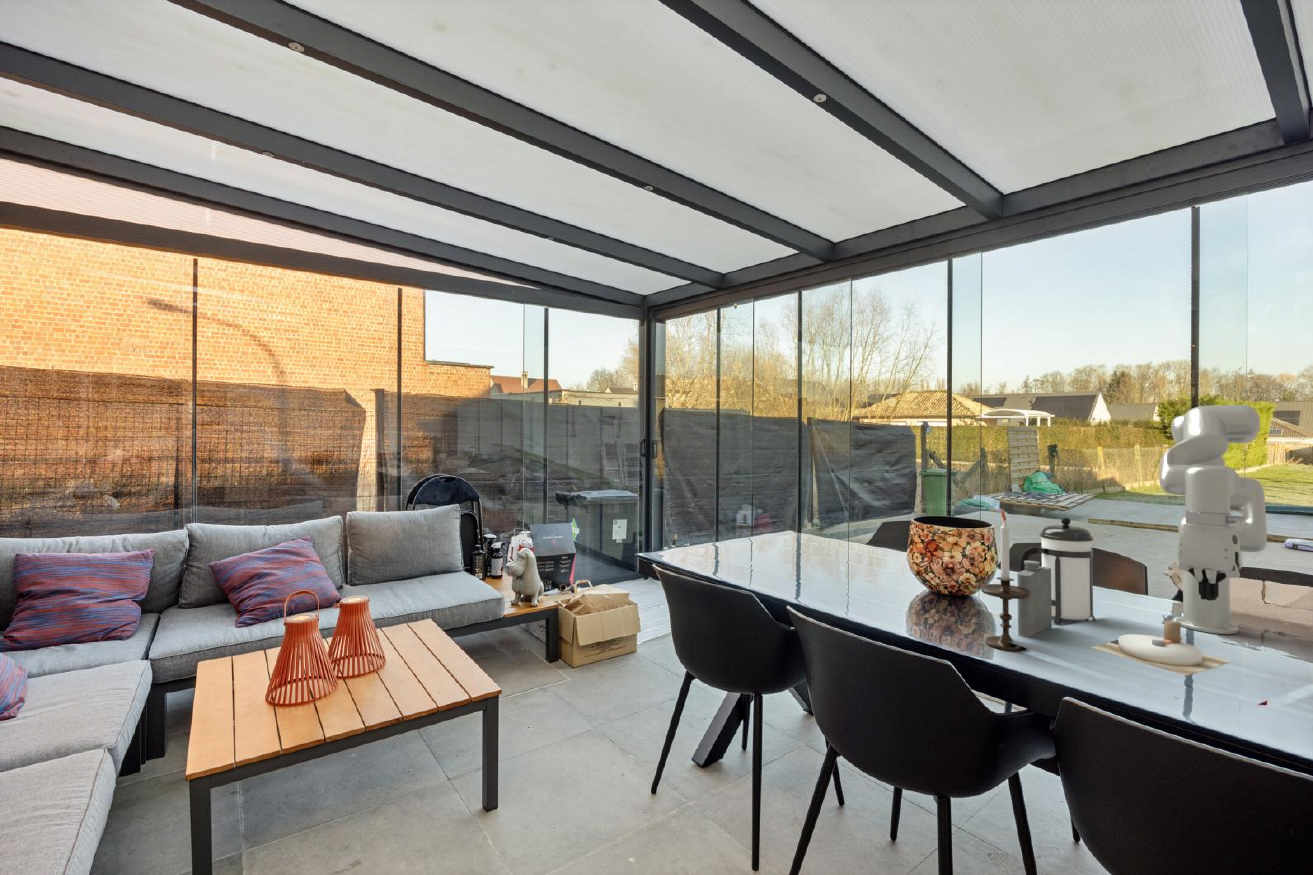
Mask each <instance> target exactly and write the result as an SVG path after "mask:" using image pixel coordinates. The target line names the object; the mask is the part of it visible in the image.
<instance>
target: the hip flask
mask: <svg viewBox="0 0 1313 875" xmlns="http://www.w3.org/2000/svg"><path fill="white" fill-rule="evenodd" d="M1024 564H1025V565H1026V566H1025V568H1026V569H1025V570H1023V571H1020V572H1019V571H1018V573H1017V587H1021V588H1025V589H1027V590H1029V591H1030V597H1029V598H1026V599H1017V624H1018V625H1017V636H1018V637H1024V638H1033V636H1034V635H1036V634H1037V633H1039V632H1040V633H1041V632H1044V631H1048V630H1052V629H1053V627H1052V626H1053V625H1052V624H1053V623H1052V622H1053V621H1052V620H1053V619H1052V617H1053V616H1052V602H1051V568H1049V567H1042V566H1041V565H1040V564H1041V562H1040V561H1036V560H1027V561H1024Z"/></svg>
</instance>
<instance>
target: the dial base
mask: <svg viewBox="0 0 1313 875" xmlns="http://www.w3.org/2000/svg"><path fill="white" fill-rule="evenodd" d="M1090 648H1092V649H1095V650H1098V651H1102V652H1105V653H1109V654H1112V655H1116V656H1119V657H1122V658H1126V659H1129V660H1131V661H1134V662H1135V661H1136V662H1139V663H1142V664H1146V665H1149V666H1153V667H1156V668H1159V669H1163V670H1166V671H1169V672H1173V673H1177V674H1181V675H1184V676H1186V677H1187V676H1191V675H1193V674H1197V673H1200V672H1202V671H1206V670H1209V669H1212V668H1216V667H1219V666H1223V665H1225V664H1229V663H1231V662H1232V660H1228V659H1224V658H1219V657H1216V656H1212V655H1208V654H1204V653H1202V662H1201V663H1200V664H1197V665H1173V664H1165V663H1159V662H1154V661H1149V660H1145V659H1142V658H1138V657H1135V656H1132V655H1130V654H1127V653H1125V652H1123V651H1122V650H1120V649H1119V646H1118V639H1116V640H1111V641H1110V642H1107V643H1103V644H1099V645H1096V646H1095V645H1094V646H1092V647H1090Z"/></svg>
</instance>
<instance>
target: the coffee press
mask: <svg viewBox="0 0 1313 875" xmlns="http://www.w3.org/2000/svg"><path fill="white" fill-rule="evenodd" d="M1060 522H1061V524H1060V525H1059V524H1055V525H1047V526H1045V527H1043V528H1042V530H1041V532H1039V537H1040V538H1041V539H1040V540H1041V545H1040V547H1036V546H1035V547H1034V546H1032V547H1028V548H1026V549H1025V550H1023V551H1022V553H1021V554H1020V557H1019V562H1018V573H1019V572H1020V571H1023V570H1025V569H1026V568H1025V566H1026V565H1025V564H1024V561H1029V560H1028V559H1029V558H1030V557H1031V556H1032V555H1034V554H1035V555H1037V554H1041V567H1049V568H1051V602H1052V617H1054V619H1053V624H1054V625H1058V624H1059V626H1060V624H1061V625H1062V622H1063V620H1069V621H1086V622H1090V621H1091V620H1090V618H1092V620H1093V622H1097V621H1098V620H1097V618H1095V616H1094V598H1093V597H1094V591H1093V590H1094V588H1093V586H1094V585H1093V584H1094V582H1093V581H1094V580H1093V574H1094V573H1093V572H1094V571H1093V570H1094V569H1093V557H1094V550H1093V549H1092V548H1093V546H1097V543H1096V542H1095V540H1094V537H1093V535H1092V534H1091V532H1090V531H1089V530H1088V529H1086V528H1085V527H1084V528H1083V527H1080V526H1076V525H1075V526H1074V525H1070V524H1071V522H1072V521H1071V519H1070V518H1069V517H1062V518H1061V519H1060Z"/></svg>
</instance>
